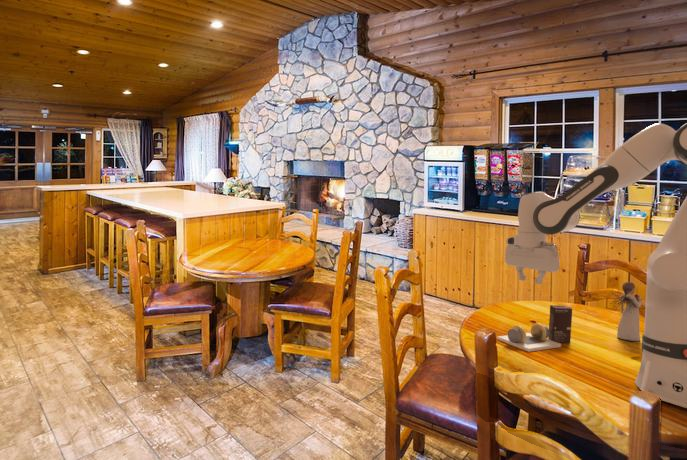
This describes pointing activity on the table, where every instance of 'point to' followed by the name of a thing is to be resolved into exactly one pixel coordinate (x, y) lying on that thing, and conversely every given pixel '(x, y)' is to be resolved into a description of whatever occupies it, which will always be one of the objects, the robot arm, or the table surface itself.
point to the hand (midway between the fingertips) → (530, 281)
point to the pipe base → (529, 338)
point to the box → (560, 323)
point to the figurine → (629, 313)
